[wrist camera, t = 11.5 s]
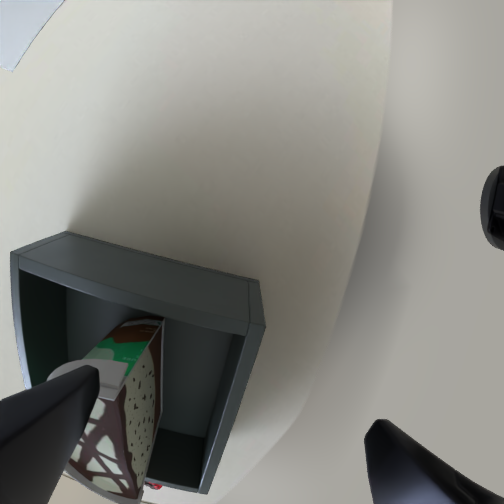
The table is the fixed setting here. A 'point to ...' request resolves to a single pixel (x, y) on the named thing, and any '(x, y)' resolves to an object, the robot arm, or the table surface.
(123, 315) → the storage box
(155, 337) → the cake slice
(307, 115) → the table surface
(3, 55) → the milk
